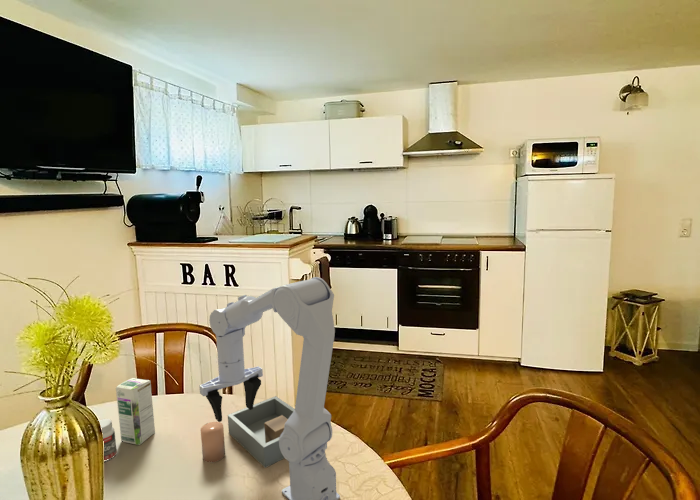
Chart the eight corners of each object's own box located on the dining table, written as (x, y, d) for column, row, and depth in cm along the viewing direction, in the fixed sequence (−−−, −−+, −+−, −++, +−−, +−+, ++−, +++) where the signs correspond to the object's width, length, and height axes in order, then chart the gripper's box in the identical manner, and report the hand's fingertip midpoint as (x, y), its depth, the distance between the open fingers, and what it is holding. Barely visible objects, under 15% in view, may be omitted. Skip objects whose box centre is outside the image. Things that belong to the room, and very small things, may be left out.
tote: (315, 442, 104) (315, 423, 103) (264, 467, 95) (263, 447, 94) (276, 413, 117) (275, 396, 116) (228, 433, 108) (227, 414, 107)
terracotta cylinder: (228, 455, 99) (227, 428, 98) (208, 465, 96) (205, 436, 95) (219, 446, 103) (217, 419, 102) (199, 455, 100) (197, 427, 98)
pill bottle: (106, 464, 97) (102, 430, 96) (88, 461, 98) (84, 428, 97) (121, 451, 102) (118, 418, 100) (104, 449, 102) (100, 417, 101)
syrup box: (120, 442, 105) (113, 387, 103) (138, 429, 111) (132, 376, 108) (139, 445, 103) (133, 389, 101) (156, 432, 109) (151, 379, 107)
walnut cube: (294, 442, 103) (293, 423, 102) (276, 451, 99) (275, 431, 99) (283, 433, 106) (282, 415, 106) (265, 441, 103) (264, 422, 102)
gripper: (251, 345, 105) (254, 396, 107) (192, 361, 95) (197, 418, 98) (266, 353, 99) (268, 407, 101) (204, 372, 90) (209, 431, 92)
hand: (234, 413), depth 99 cm, fingers open, 7 cm apart
